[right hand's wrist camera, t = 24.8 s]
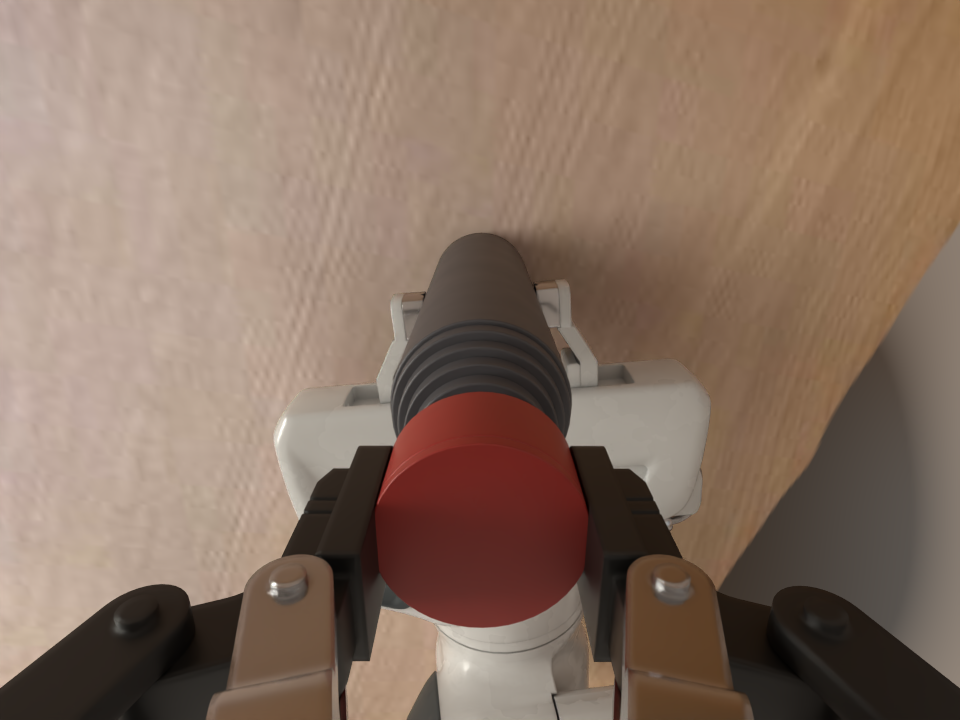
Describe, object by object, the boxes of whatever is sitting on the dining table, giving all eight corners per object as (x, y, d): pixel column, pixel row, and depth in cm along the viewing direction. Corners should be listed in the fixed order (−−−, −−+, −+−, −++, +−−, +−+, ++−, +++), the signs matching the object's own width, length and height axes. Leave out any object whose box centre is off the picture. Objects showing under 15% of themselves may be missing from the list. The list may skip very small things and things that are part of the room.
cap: (467, 579, 13) (464, 660, 11) (350, 462, 12) (323, 527, 10) (609, 488, 12) (635, 557, 10) (497, 353, 11) (500, 399, 9)
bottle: (545, 277, 31) (667, 519, 11) (482, 339, 33) (483, 662, 12) (480, 213, 30) (478, 344, 10) (417, 279, 31) (295, 523, 11)
